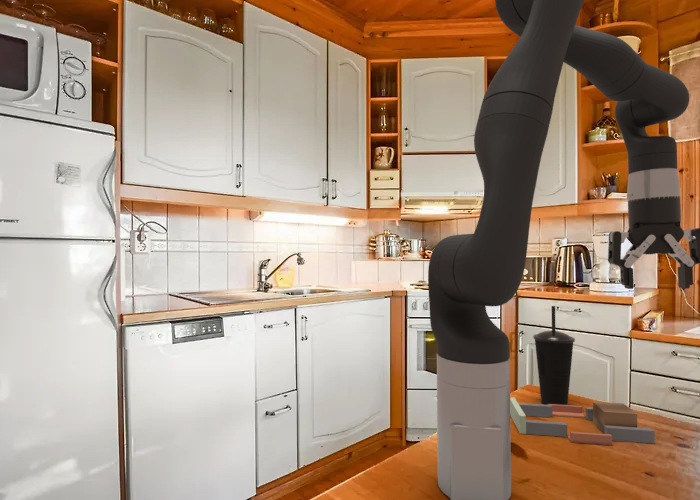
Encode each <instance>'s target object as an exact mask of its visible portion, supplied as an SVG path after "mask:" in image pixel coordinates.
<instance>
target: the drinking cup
mask: <svg viewBox="0 0 700 500" xmlns="http://www.w3.org/2000/svg"><path fill="white" fill-rule="evenodd" d="M532 338H533V340H534V343H535V353H536V363H537V374H538V375H537V376H538V381H539V382H538V383H539V391H540V392H539V394H540V401H541V404H544V405H548V404H559V405H569V403H568V402H569V395H570V394H569V393H570V392H569V391H570V380H571V373H572V372H571V370H572V361H573V350H574V349H573V348H574V343H575V341H576V339H575V337H573V336H572V335H571V336H570V335H569V334H567V333H565V332H562V331H559V330H556V306H555V305H551V330H543V331H541V332H538V333H537V334H534V335H533V337H532Z"/></svg>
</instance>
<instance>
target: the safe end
mask: <svg viewBox="0 0 700 500" xmlns="http://www.w3.org/2000/svg"><path fill="white" fill-rule="evenodd" d="M518 403H519V402H518V401H517V399H516V397H512V396H510V418H511V419H512V421H513V423H514V425H515V426H516V427H515V428H517V431H518V432H519V434H523V435H527V434H526V420H527V416H526V415H525V414H524V412H523V411H522V409H521V407H520V406H519V404H518Z"/></svg>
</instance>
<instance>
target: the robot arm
mask: <svg viewBox="0 0 700 500" xmlns="http://www.w3.org/2000/svg"><path fill="white" fill-rule="evenodd" d="M494 3H495V8H496V11H497V14H498V16H499V19H500V20H501V21H502V23H503V24H504V26H506V27H507V29H509V30H510V31H511V32H513V33H514V34H516V35H517V36H518V37H519V38H518V40H517V41H516V43H515V44H514V46H513V47H512V49H511V51H510V52H509V53H508V55H507V56H506V58H505V60H504V61H503V62H502V64H501V65H500V67H499V68H498V70H497V71H496V72H495V74H494V76H493V78H492V80H491V81H490V83H489V85H488V87H487V89H486V91H485V93H484V96H483V98H482V101H481V105H480V109H479V113H478V118H477V121H476V126H475V130H474V137H473V141H474V142H473V147H474V152H475V157H476V160H477V163H478V167H479V169H480V173H481V176H482V180H483V191H484V192H483V198H482V199H483V200H482V205H481V209H480V213H479V217H478V221H477V223H476V227H475V229H474V231H473V233H464V234H463V233H462V234H456V235H455V234H453V235H449V236H446V237H443V238H442V239H441V240H440V241H439V242H437V243H436V245H435V247H433V250H432V252H431V254H430V258H429V262H428V267H427V269H428V271H427V273H428V275H427V283H428V284H427V285H428V286H427V289H428V290H427V291H428V302H429V305H428V306H429V308H428V309H429V321H430V327H431V328H430V329H431V332H432V335H433V337H434V340H435V343H436V414H437V415H436V423H437V424H436V428H437V430H436V431H437V432H436V437H437V438H436V441H437V443H436V444H437V446H436V451H437V452H436V453H437V485H438V487H439V489H440V490H441V492H442V493H443V494H444V495H446V496H447V498H449V499H450V500H509V499H511V496H512V462H511V461H512V460H511V459H512V458H511V456H512V455H511V451H512V450H511V415H510V397H511V358H510V357H511V351H510V350H511V346H510V345H511V344H510V339H509V336H508V335H507V334H506V333H505V332H504V331H503V330H502V329H500V328H499V327H498V326H496V324H495V323H494V322H493V320H491V318H490V317H489V315H488V313H487V307H499V306H503V305H505V304H506V303H508V302H509V301H510V300H512V298H514V297H515V295H516V293H517V292H518V290H519V288H520V285H521V283H522V281H523V277H524V273H525V269H526V263H527V254H528V245H529V235H530V234H529V233H530V225H531V215H532V210H533V202H534V197H535V191H536V186H537V182H538V181H537V179H538V175H539V171H540V165H541V160H542V155H543V152H544V147H545V145H546V140H547V137H548V133H549V128H550V125H551V120H552V115H553V109H554V105H555V99H556V93H557V90H558V89H557V88H558V84H559V81H560V77H561V73H562V69H563V65H564V64H565V65H567V66H570V67H571V68H572V69H573V70H575V71H577V73H579V74H581V75H582V76H583V77H584V78H585V79H586V80H588V81H589V82H590V83H591V84H592V85H593V86H594V87H595V88H596V89H597V90H598V91H600V93H601V94H602V95H604V97H606V98H607V99H609V100H611V101H612V102H616V104H615V107H614V117H615V121H616V123H617V126H618V128H619V131H620V133H621V136H622V139H623V142H624V145H625V149H626V152H627V163H628V164H627V167H628V170H627V171H628V180H627V190H626V191H627V193H626V198H627V213H628V214H627V215H628V217H627V219H628V222H627V223H628V230H627V231H626V232H624V231H623V232H621V231H618V230H617V231H610V232H609V234H608V247H607V248H608V250H607V253H608V254H607V262H608V264H610V265H615V266H618V267H619V269H620V270H619V271H620V284H621V285H622V286H623V287H624V289H629V290H633V289H634V287H635V286H634V285H635V284H634V283H635V282H634V281H635V280H634V268H633V267H632V266H633V265H634V264H635V262H636V261H637V260H638V259H640V258H641V257H642V256H643V255H655V254H657V255H668V256H670V257H671V258H673V260H674V261H676V263H677V264H678V265H679V266H677V281H678V282H677V283H678V288H680V289H690V288H691V286H692V285H693V284H694V274H693V273H694V269H693V268H694V266H696V265H698V264H699V265H700V227H694V228H689V229H683V228H682V226H681V223H682V212H681V211H682V208H681V207H682V206H681V205H682V204H681V183H680V176H679V172H678V152H677V151H678V149H677V142H676V139H675V138H674V137H672V136H670V135H652V136H651V135H650V136H649V134H648V133H647V130H646V127H650V126H654V125H657V124H662V123H666V122H669V121H672V120H674V119H677V118H679V117H681V116H682V115H683V114H684V113H685V112H686V110H687V109H688V106H689V102H690V94H689V90H688V88H687V86H686V85H685V83H684V82H683V81H682V80H681V79H680V78H679V77H677V76H675V75H674V74H671V73H669V72H668V71H666V70H663V69H661V68H658V67H657V66H654V65H651V64H650V63H649V64H648V63H647V62H645V60H644V59H643V58H642V56H640V55H639V54H638V53H637V52H636V51H635V50H634V49H633V48H632V47H631V45H629V44H628V42H626V41H625V40H623V39H621V38H619V37H617V36H616V35H612V34H610V33H608V32H607V33H606V32H602V31H599V30H595V29H591V28H588V27H584V26H579V25H576V24H577V21H578V18H579V16H580V13H581V10H582V7H583V4H584V0H494ZM683 238H685V239H684V240H685V241H686V242H688V249H689V251H688V252H689V254H688V253H687V251H686V250H685V249H684V248H683V246H681V244H679V243H680V241H681V240H682V239H683ZM626 239H627V241H629V243H630V244H631V246H630V247H629V248H628V249H627V251H626V252H625V255H624V256H623V257H622V255H621V254H622V244H624V243H625V240H626ZM621 257H622V258H621Z"/></svg>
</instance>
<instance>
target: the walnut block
mask: <svg viewBox="0 0 700 500" xmlns="http://www.w3.org/2000/svg"><path fill="white" fill-rule="evenodd" d="M592 407H593V420H592V424H594V426H595V427H596V428H597V429H598V430H599V431H600V432H601V434H604V425H607V426H622V427H637V428H638V413H636V412H635V410H633V409H632V408H631V407H629V406H628V405H626V404H625V403H623V402H621V403H620V402H605V401H592Z"/></svg>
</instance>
